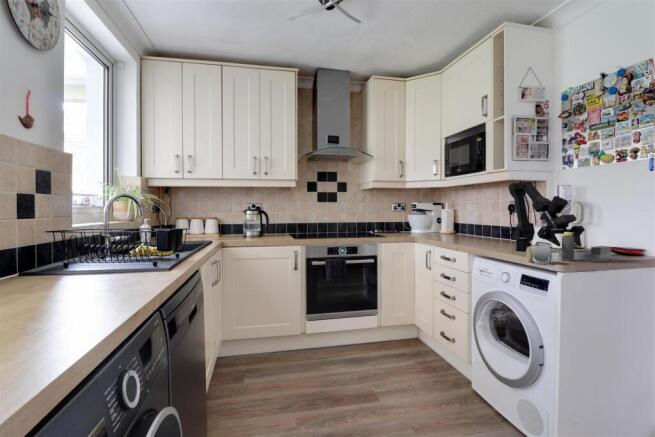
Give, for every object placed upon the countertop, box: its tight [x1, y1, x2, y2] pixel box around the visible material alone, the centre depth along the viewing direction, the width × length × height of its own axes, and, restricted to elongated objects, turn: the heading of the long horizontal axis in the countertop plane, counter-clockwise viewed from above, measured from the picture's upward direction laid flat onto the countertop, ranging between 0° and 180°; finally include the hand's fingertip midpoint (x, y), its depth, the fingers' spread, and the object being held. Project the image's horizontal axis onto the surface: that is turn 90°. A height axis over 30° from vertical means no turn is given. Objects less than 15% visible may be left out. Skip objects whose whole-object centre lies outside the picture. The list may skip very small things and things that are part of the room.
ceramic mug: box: [525, 245, 553, 266], centre depth 136 cm, size 11×8×8 cm
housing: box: [558, 245, 612, 262], centre depth 149 cm, size 16×12×6 cm
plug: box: [560, 232, 575, 263], centre depth 141 cm, size 5×5×13 cm
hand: (570, 245), depth 140 cm, fingers open, 9 cm apart
